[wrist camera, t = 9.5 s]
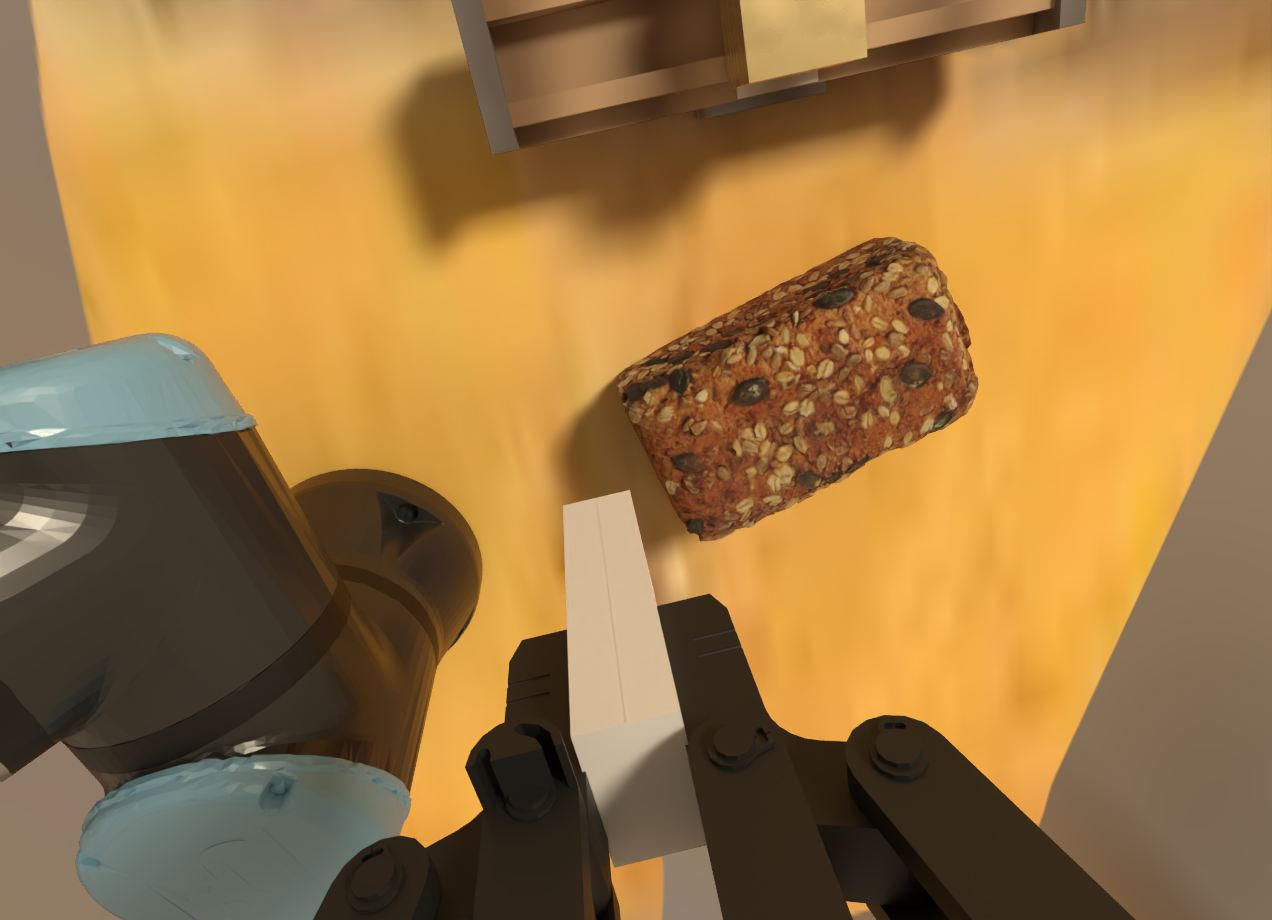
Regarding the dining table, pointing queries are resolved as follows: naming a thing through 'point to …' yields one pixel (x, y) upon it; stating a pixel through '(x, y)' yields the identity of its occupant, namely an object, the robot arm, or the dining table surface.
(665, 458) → the bread
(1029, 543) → the dining table surface
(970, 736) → the dining table surface
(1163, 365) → the dining table surface
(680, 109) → the beam
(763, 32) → the block
